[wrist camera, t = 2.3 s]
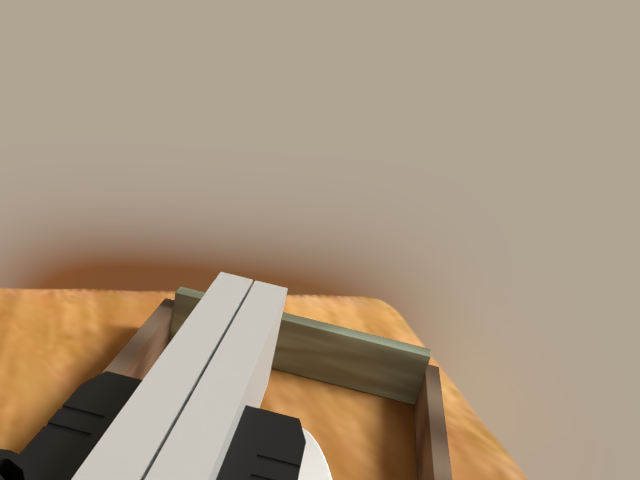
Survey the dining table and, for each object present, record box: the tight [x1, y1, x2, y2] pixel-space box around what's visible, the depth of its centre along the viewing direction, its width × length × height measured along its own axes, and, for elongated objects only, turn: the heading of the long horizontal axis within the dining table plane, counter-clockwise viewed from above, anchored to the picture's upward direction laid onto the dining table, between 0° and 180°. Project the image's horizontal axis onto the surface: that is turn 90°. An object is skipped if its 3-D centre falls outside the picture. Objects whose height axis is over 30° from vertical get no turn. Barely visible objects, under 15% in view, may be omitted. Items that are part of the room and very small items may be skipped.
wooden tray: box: [101, 287, 452, 480], centre depth 35 cm, size 30×24×5 cm
